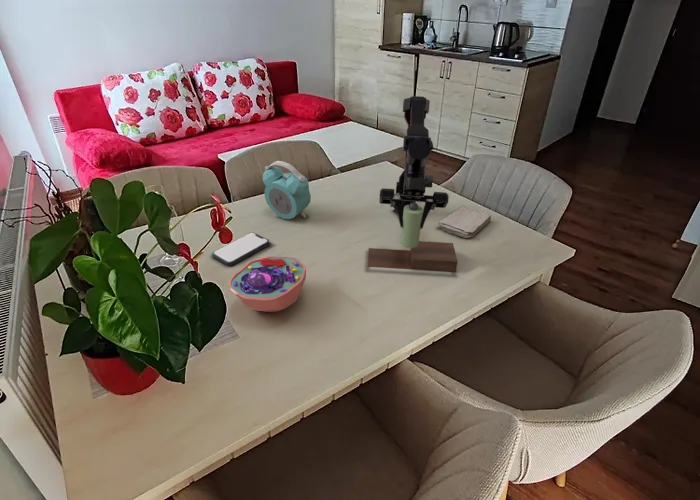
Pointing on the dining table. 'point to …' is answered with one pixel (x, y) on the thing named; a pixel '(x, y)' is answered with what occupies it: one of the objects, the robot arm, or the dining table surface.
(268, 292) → the cell model
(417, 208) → the pepper mill
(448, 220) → the washcloth
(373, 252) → the spice riser
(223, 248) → the smartphone
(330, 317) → the dining table surface
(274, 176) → the alarm clock
